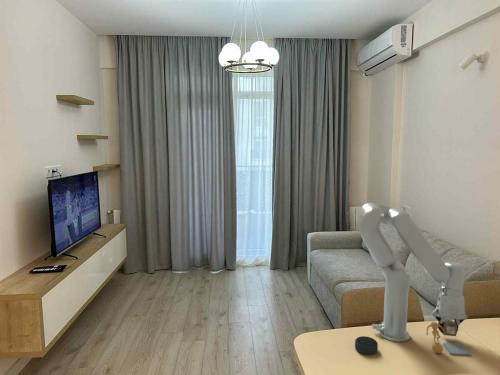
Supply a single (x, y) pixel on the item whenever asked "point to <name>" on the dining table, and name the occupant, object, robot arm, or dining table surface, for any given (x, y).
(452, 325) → the marked cube
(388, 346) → the dining table surface
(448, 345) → the rubber mat
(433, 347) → the figurine
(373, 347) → the smart speaker
